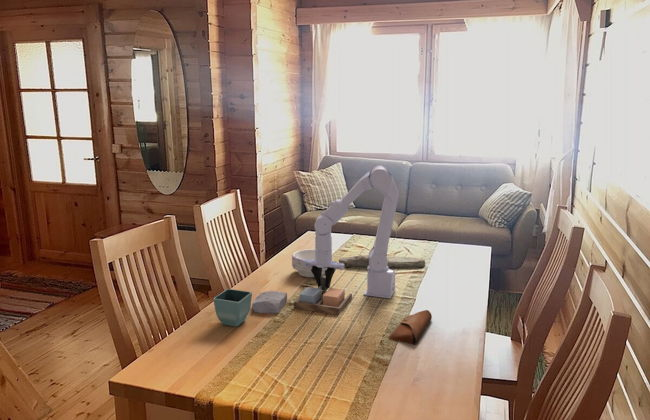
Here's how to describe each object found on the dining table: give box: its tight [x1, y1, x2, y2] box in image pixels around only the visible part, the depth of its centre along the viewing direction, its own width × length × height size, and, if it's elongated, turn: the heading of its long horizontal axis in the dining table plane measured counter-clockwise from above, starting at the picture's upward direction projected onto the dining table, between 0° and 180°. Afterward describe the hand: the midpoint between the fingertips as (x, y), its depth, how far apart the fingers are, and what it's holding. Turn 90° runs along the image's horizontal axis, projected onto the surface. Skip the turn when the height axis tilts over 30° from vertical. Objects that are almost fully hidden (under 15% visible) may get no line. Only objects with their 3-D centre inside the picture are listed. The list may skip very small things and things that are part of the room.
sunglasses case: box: [388, 309, 432, 346], centre depth 152 cm, size 18×7×7 cm
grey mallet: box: [299, 275, 329, 304], centre depth 175 cm, size 5×17×5 cm, turn 160°
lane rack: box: [293, 293, 353, 316], centre depth 172 cm, size 15×14×2 cm
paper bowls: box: [291, 248, 327, 278], centre depth 200 cm, size 15×15×8 cm
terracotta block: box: [322, 287, 346, 307], centre depth 170 cm, size 5×7×4 cm
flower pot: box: [212, 288, 253, 328], centre depth 157 cm, size 9×9×9 cm
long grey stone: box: [338, 254, 426, 269], centre depth 209 cm, size 35×5×10 cm
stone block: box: [251, 290, 288, 314], centre depth 170 cm, size 12×5×10 cm
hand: (323, 287), depth 182 cm, fingers closed on grey mallet, 3 cm apart
